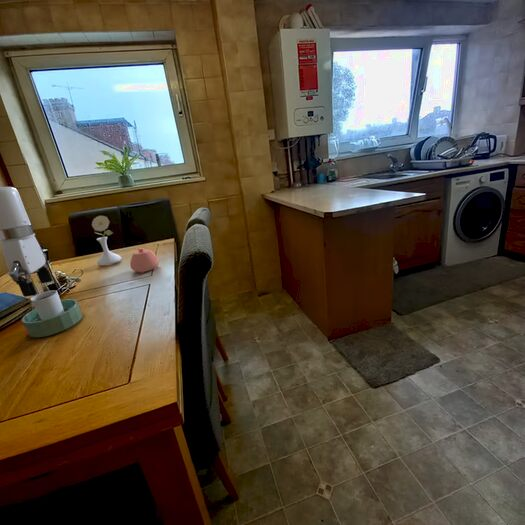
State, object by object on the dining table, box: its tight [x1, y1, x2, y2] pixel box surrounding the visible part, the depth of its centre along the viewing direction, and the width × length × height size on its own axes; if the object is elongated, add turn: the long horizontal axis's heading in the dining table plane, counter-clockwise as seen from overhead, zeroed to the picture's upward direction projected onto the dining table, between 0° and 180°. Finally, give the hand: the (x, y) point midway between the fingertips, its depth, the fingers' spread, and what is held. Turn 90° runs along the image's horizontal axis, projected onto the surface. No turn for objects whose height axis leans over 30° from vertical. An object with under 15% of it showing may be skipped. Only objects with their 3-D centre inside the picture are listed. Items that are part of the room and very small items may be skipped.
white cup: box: [30, 290, 64, 320], centre depth 86 cm, size 7×7×10 cm
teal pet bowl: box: [21, 298, 83, 338], centre depth 87 cm, size 14×14×6 cm
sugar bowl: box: [129, 247, 160, 274], centre depth 127 cm, size 12×14×10 cm
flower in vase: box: [91, 215, 122, 267], centre depth 140 cm, size 13×11×25 cm
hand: (39, 288), depth 83 cm, fingers open, 9 cm apart
